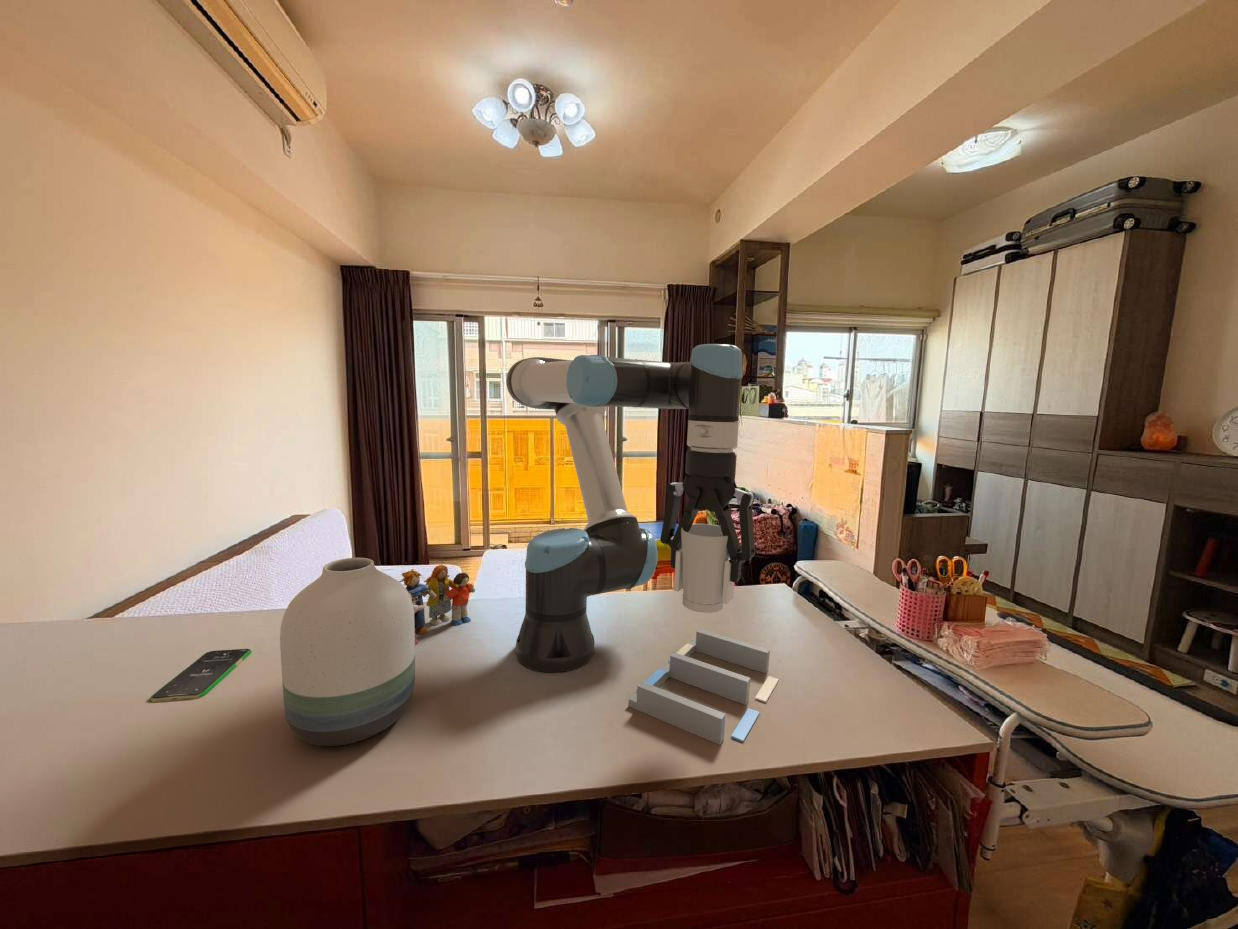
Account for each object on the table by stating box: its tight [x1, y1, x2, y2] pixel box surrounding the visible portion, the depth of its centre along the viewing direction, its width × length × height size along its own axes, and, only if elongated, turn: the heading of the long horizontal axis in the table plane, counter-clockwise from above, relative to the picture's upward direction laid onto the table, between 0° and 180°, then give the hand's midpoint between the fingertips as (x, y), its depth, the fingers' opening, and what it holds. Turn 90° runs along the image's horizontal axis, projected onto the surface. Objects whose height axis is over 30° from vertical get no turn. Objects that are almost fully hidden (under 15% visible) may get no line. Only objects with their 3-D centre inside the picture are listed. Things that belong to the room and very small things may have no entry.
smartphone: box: [148, 648, 252, 703], centre depth 82 cm, size 8×1×15 cm
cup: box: [681, 523, 730, 614], centre depth 75 cm, size 8×8×12 cm
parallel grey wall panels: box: [627, 628, 780, 746], centre depth 83 cm, size 18×24×4 cm
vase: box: [279, 557, 416, 747], centre depth 70 cm, size 17×17×24 cm
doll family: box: [398, 564, 476, 646], centre depth 100 cm, size 21×10×13 cm, turn 148°
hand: (703, 594), depth 76 cm, fingers closed on cup, 7 cm apart
